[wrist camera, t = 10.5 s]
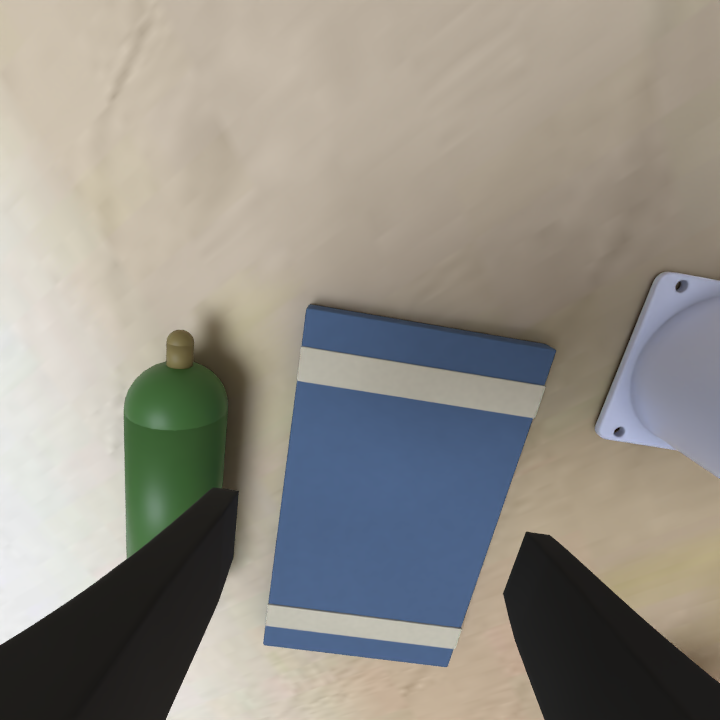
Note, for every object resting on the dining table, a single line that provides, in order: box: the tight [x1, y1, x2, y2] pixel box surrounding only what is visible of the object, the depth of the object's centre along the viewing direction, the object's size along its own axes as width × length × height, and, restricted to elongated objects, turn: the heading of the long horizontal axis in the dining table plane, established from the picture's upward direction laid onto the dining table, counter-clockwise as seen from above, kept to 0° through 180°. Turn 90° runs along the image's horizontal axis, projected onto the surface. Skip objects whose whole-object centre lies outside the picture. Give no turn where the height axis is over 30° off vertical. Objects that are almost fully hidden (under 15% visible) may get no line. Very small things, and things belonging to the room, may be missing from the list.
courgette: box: [124, 330, 228, 559], centre depth 18 cm, size 15×4×4 cm, turn 170°
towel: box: [263, 304, 556, 667], centre depth 20 cm, size 11×20×1 cm, turn 170°
